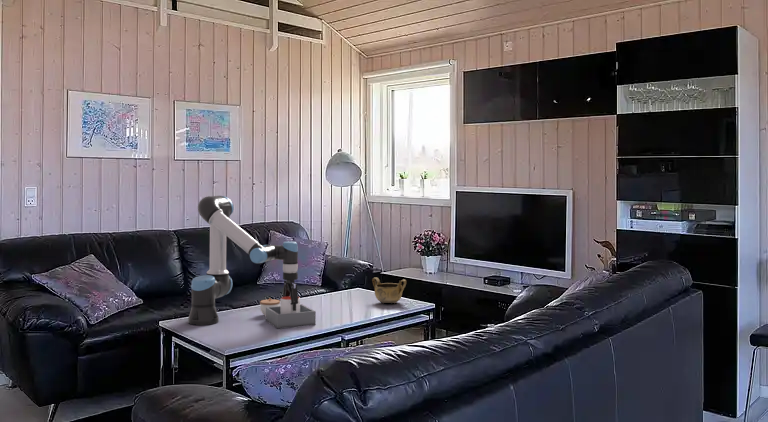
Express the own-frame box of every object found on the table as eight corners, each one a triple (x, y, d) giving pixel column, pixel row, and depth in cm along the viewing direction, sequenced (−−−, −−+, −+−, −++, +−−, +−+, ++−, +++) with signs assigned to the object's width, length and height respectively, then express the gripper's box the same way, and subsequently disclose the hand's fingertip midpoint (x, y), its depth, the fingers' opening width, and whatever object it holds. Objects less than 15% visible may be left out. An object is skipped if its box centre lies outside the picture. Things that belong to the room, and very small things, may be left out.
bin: (277, 328, 324) (277, 314, 324) (265, 320, 342) (265, 307, 342) (315, 324, 334) (315, 311, 333) (302, 317, 351) (302, 304, 351)
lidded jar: (263, 318, 348) (263, 300, 348) (257, 314, 358) (257, 297, 357) (282, 316, 353) (282, 299, 353) (276, 312, 363) (276, 295, 362)
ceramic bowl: (411, 302, 394) (411, 278, 393) (398, 307, 379) (398, 282, 378) (379, 299, 405) (379, 275, 404) (365, 303, 390) (365, 278, 389)
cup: (303, 316, 340) (303, 297, 340) (293, 320, 331) (293, 300, 331) (287, 314, 344) (287, 295, 344) (276, 318, 335) (276, 298, 335)
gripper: (304, 274, 328) (304, 318, 329) (290, 268, 348) (290, 310, 349) (290, 275, 325) (290, 319, 326) (276, 269, 345) (276, 311, 346)
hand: (290, 314), depth 338 cm, fingers closed on cup, 10 cm apart
